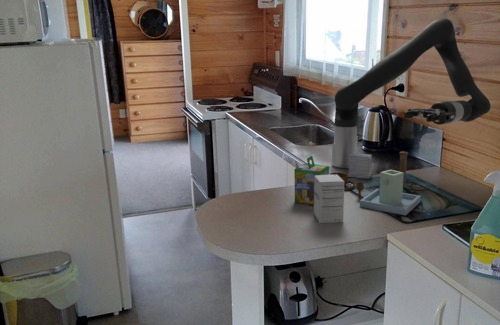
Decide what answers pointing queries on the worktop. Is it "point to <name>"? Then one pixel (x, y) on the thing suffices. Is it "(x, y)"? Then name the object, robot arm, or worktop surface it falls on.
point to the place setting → (345, 178)
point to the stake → (403, 164)
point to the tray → (402, 208)
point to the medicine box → (360, 165)
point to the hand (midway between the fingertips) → (416, 116)
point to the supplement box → (328, 198)
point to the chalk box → (307, 180)
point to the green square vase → (391, 187)
